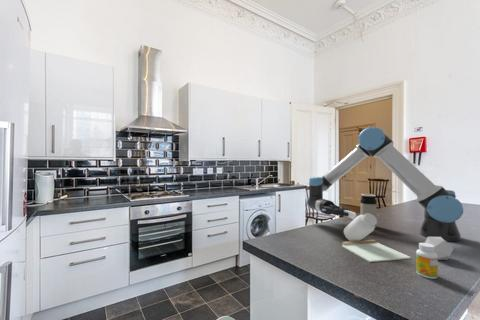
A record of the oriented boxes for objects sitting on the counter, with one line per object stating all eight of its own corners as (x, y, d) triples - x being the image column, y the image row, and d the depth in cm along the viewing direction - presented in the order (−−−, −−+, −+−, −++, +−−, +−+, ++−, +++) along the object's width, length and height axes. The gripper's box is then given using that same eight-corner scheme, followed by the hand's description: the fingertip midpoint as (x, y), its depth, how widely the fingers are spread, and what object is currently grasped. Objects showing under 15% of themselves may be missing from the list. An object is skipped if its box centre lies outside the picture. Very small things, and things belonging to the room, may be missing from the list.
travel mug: (363, 227, 127) (363, 195, 128) (358, 224, 135) (358, 193, 136) (379, 228, 126) (378, 195, 126) (373, 224, 134) (373, 194, 134)
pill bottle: (359, 230, 108) (379, 215, 97) (359, 246, 102) (381, 231, 91) (343, 223, 109) (361, 207, 98) (342, 238, 103) (361, 222, 92)
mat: (341, 246, 98) (341, 245, 98) (377, 243, 102) (377, 242, 102) (369, 262, 83) (369, 260, 83) (411, 258, 86) (411, 257, 86)
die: (456, 267, 81) (461, 242, 84) (431, 253, 82) (438, 229, 85) (437, 265, 88) (443, 243, 91) (415, 253, 90) (421, 231, 93)
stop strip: (342, 245, 100) (342, 241, 100) (373, 243, 103) (373, 239, 103) (343, 246, 99) (343, 242, 99) (375, 243, 102) (375, 240, 102)
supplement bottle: (411, 271, 76) (411, 242, 76) (426, 270, 76) (426, 241, 77) (426, 279, 71) (426, 247, 71) (442, 278, 71) (442, 247, 71)
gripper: (335, 212, 127) (367, 223, 103) (314, 213, 124) (341, 225, 101) (335, 199, 127) (367, 207, 104) (314, 200, 124) (341, 208, 101)
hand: (354, 216), depth 102 cm, fingers closed
